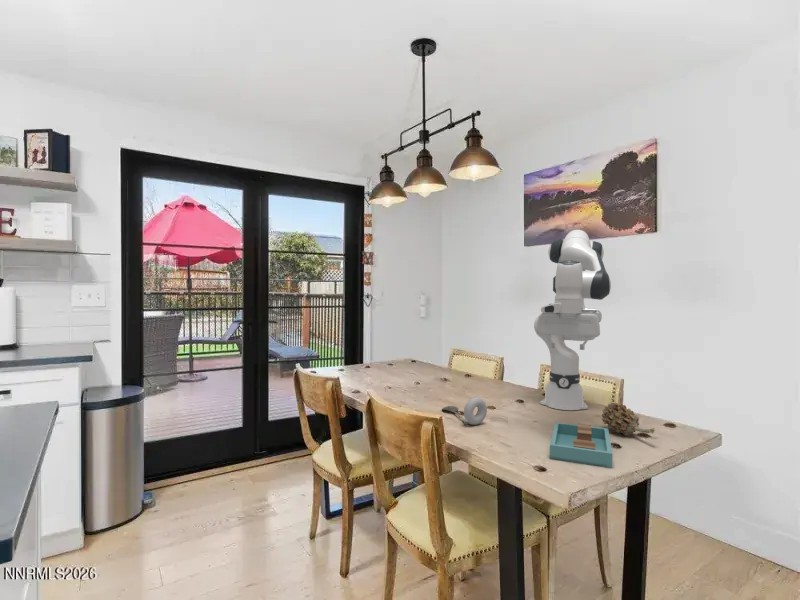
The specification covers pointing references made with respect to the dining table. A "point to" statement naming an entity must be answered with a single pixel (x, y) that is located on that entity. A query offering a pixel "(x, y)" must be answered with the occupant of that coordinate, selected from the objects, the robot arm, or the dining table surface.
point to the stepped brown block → (584, 437)
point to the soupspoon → (454, 409)
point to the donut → (470, 408)
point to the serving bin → (566, 452)
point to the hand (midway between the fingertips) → (567, 348)
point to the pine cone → (622, 419)
